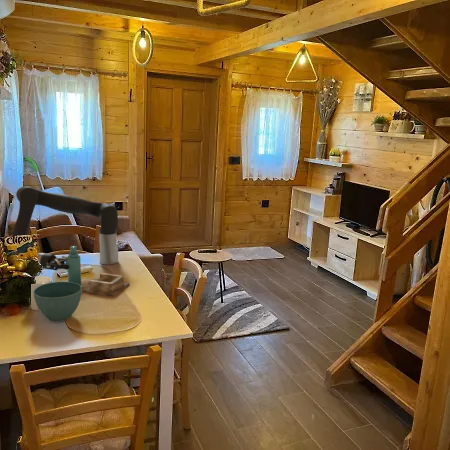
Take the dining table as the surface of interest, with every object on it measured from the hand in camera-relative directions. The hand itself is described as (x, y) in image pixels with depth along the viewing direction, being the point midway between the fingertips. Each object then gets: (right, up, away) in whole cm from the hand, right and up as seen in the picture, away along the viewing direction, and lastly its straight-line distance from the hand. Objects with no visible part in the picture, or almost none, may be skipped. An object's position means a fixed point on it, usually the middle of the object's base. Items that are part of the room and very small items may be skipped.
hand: (73, 264), depth 221 cm
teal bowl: (+6, -19, -35) cm, 40 cm away
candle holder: (-6, -16, -25) cm, 30 cm away
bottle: (0, -10, +2) cm, 10 cm away
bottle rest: (+16, -11, -2) cm, 20 cm away
